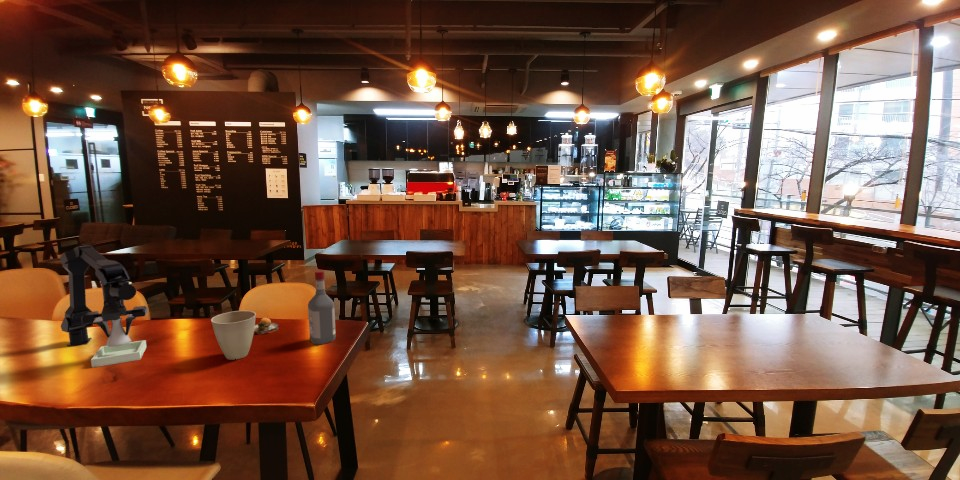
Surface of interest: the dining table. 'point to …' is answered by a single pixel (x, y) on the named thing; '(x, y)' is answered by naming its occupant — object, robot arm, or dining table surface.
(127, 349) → the tray
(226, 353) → the plant pot
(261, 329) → the burger
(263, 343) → the dining table surface
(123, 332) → the flask
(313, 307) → the liquor
